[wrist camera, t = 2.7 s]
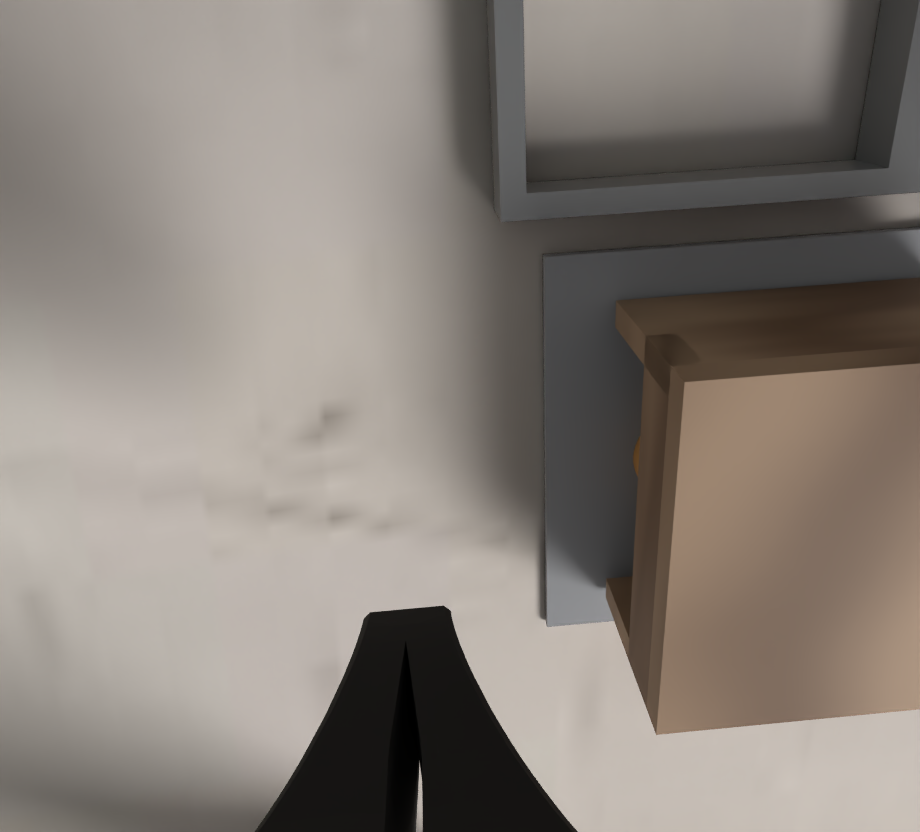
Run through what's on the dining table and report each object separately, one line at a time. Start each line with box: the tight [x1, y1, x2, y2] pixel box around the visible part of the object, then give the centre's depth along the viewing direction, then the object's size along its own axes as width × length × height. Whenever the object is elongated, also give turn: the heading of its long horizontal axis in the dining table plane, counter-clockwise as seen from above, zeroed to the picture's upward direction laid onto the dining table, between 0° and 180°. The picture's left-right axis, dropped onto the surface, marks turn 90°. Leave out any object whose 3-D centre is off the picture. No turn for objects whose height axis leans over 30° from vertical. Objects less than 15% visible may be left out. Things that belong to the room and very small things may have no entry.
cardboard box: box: [606, 278, 920, 735], centre depth 16 cm, size 7×8×4 cm
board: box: [543, 227, 920, 627], centre depth 18 cm, size 16×10×2 cm, turn 93°
